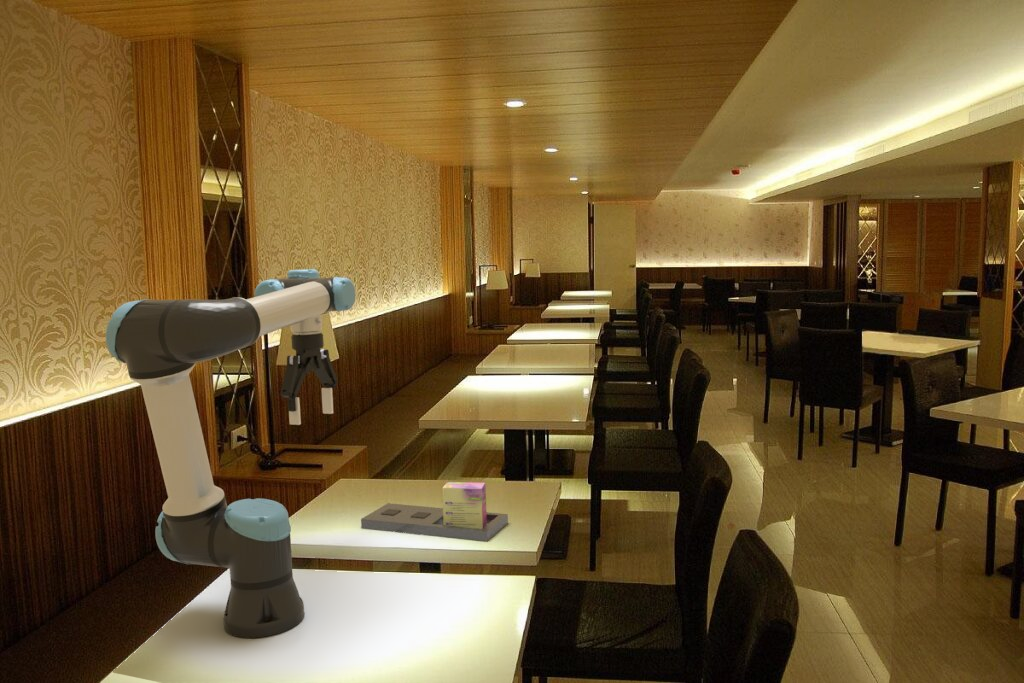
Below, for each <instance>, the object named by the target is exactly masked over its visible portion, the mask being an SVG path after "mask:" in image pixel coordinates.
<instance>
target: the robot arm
mask: <svg viewBox="0 0 1024 683" xmlns="http://www.w3.org/2000/svg"><path fill="white" fill-rule="evenodd" d="M254 290H255V291H254V297H250V298H247V299H245V298H243V297H240V296H239V297H236V296H235V297H231V298H226V299H196V298H195V299H194V298H193V299H192V298H188V299H186V298H185V299H149V298H145V299H141V300H132V301H128V302H125V303H123V304H121V305H120V306H119V307H118V308H117V309H116V310H114V312H113V313H112V314H111V319H109V320H108V322H107V325H106V329H105V344H106V348H107V350H108V353H109V355H111V356H112V357H113V358H114V359H115V360H116V361H119V362H121V363H123V364H126V365H125V366H126V367H127V369H126V370H127V371H128V372H127V373H128V376H129V379H130V380H132V381H133V382H136V383H138V384H139V385H140V387H141V390H142V391H141V392H142V395H143V399H144V404H145V407H146V412H147V416H148V419H149V424H150V428H151V431H152V435H153V436H152V437H153V440H154V444H155V449H156V452H157V456H158V461H159V465H160V468H161V474H162V477H163V481H164V486H165V489H166V494H167V499H166V500H165V501H164V503H163V504H162V510H161V512H160V514H159V515H158V518H157V521H156V522H157V523H158V526H155V530H154V531H155V532H154V533H155V540H156V544H157V547H158V549H159V551H160V552H161V553H162V555H164V557H166V558H167V559H168V560H169V559H170V560H171V561H173V562H178V563H181V564H186V565H199V566H208V567H209V566H210V567H217V568H226V569H229V577H230V589H229V590H230V591H229V595H228V598H227V602H226V606H225V610H224V613H223V627H224V631H225V632H226V633H227V634H229V635H231V636H233V637H237V638H238V637H239V638H244V639H252V638H256V639H257V638H263V637H270V636H274V635H277V634H280V633H284V632H286V631H288V630H290V629H292V628H295V627H296V626H297V625H299V624H300V623H301V622H302V621H303V620H304V617H305V607H304V606H305V605H304V601H303V599H302V597H301V596H300V593H299V590H298V587H297V585H296V582H295V580H294V575H293V561H292V560H293V557H292V556H293V555H292V544H291V543H292V542H291V532H292V530H291V529H292V528H291V527H292V526H291V523H290V519H289V512H288V510H287V508H286V507H285V506H284V505H283V504H282V503H280V502H278V501H276V500H272V499H267V498H254V499H253V498H252V499H251V498H245V499H239V500H236V501H233V502H231V503H230V504H229V505H228V504H227V500H226V495H225V492H224V489H222V488H221V487H219V486H216V485H215V483H214V479H213V474H212V470H211V466H210V462H209V461H210V460H209V458H208V453H207V448H206V444H205V440H204V434H203V430H202V426H201V421H200V418H199V413H198V409H197V404H196V399H195V396H194V390H193V386H192V382H191V378H190V373H191V372H192V371H193V369H194V367H196V363H201V362H206V361H210V360H214V359H216V358H220V357H223V356H226V355H228V354H231V353H234V352H236V351H239V350H243V349H244V348H245V349H246V348H247V347H251V346H252V345H253V344H255V343H256V342H257V341H258V339H259V338H260V337H262V336H265V335H267V334H270V333H273V332H276V331H278V330H281V329H284V328H287V327H289V328H290V332H291V333H293V334H292V335H291V336H290V337H291V348H292V350H294V351H295V355H286V367H285V372H284V377H283V380H282V385H281V390H280V392H279V393H280V396H281V397H282V398H286V401H287V410H288V419H289V423H288V424H289V425H293V426H294V425H295V426H300V425H301V424H302V420H301V406H300V403H301V401H300V396H299V397H298V394H299V391H300V389H301V386H302V384H303V381H304V378H305V377H306V375H308V373H309V372H312V371H313V372H314V374H315V376H316V377H317V379H318V380H319V382H320V383H321V385H322V386H323V387H322V388H321V404H322V414H326V415H327V414H328V415H332V414H334V390H333V388H336V387H337V384H338V383H339V380H338V378H337V375H336V372H335V369H334V366H333V364H332V361H331V359H330V352H329V349H324V346H325V344H324V334H323V332H321V331H323V329H324V328H323V315H324V314H327V313H330V312H344V311H349V310H351V309H352V308H353V306H354V304H355V302H356V298H357V297H356V288H355V285H354V283H353V281H352V280H351V279H350V278H348V277H339V276H334V277H320V272H319V271H318V270H317V269H315V268H312V269H309V268H308V269H290V270H288V271H287V278H269V279H267V280H262V281H260V282H259V283H258V284H257V286H256V288H254Z"/></svg>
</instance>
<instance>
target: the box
mask: <svg viewBox="0 0 1024 683" xmlns="http://www.w3.org/2000/svg"><path fill="white" fill-rule="evenodd" d="M486 484H487V483H486V482H471V481H470V482H467V481H466V482H460V481H458V482H457V481H447V482H446V483H445V484H444V486H443V487H442V508H443V523H444V525H447V526H457V527H467V528H477V529H482V528H484V527H485V526H486V525H487V524H488V523H487V517H486V512H487V490H486V489H487V488H486V487H487V485H486Z"/></svg>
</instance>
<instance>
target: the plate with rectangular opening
mask: <svg viewBox="0 0 1024 683" xmlns="http://www.w3.org/2000/svg"><path fill="white" fill-rule="evenodd" d="M486 517H487V525H486V526H485V527H484V528H482V529H477V528H467V527H457V526H447V525H444V523H443V507H433V506H422V505H413V504H412V505H411V504H410V505H409V504H401V503H391V502H387V503H386V504H383V506H381V507H379V508H377V509H376V510H374V511H373V512H370V513H369V514H367V515H365V516H364V517H362V518H361V519H360V524H361V526H360V527H361V529H365V530H368V529H369V530H375V531H376V530H377V531H385V532H393V531H395V533H403V532H404V533H405V532H406V533H405V534H412V533H414V535H421V534H423V535H422V536H432V537H440V538H441V537H443V538H450V539H451V538H452V539H460V540H461V539H462V540H468V541H469V540H470V541H479V542H488V541H490V539H492V538H493V537H494V536H495V535H497V533H499V532H500V531H501V530H503V529H504V527H506V526H507V525H508V524H509V515H508V513H500V512H499V513H498V512H487V511H486Z"/></svg>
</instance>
